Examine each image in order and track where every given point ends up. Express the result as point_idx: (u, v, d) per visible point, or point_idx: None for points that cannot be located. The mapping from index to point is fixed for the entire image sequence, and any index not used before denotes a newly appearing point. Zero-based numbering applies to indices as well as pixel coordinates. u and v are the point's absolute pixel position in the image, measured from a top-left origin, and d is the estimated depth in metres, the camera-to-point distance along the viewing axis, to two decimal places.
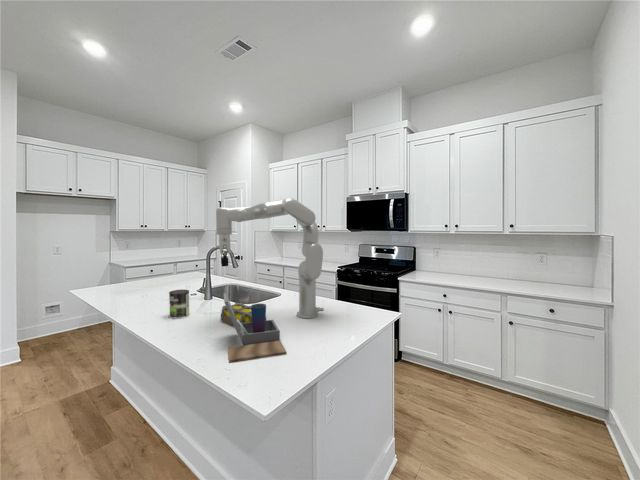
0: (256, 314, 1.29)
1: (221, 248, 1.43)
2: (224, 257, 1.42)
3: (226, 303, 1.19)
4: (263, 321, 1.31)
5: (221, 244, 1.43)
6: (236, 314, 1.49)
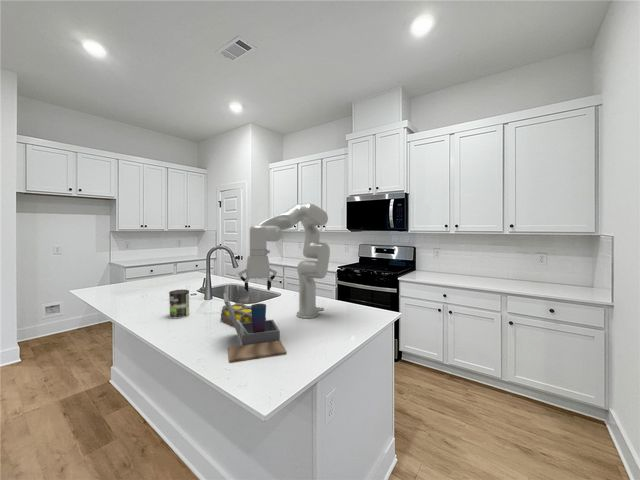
0: (256, 314, 1.29)
1: (269, 271, 1.31)
2: None
3: (226, 303, 1.19)
4: (263, 321, 1.31)
5: None
6: (236, 314, 1.49)
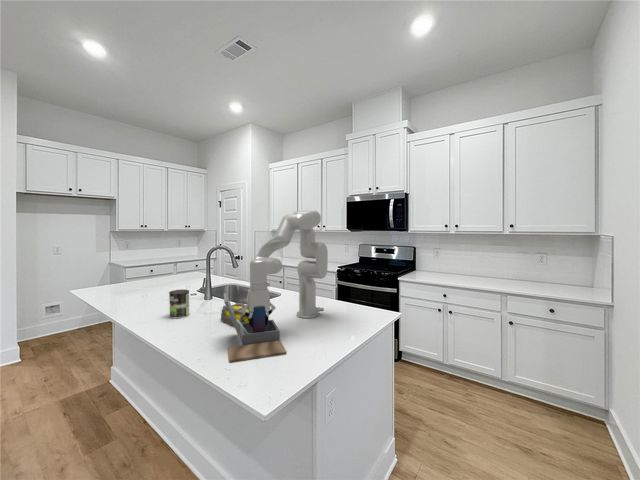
0: (256, 314, 1.29)
1: (269, 306, 1.32)
2: None
3: (226, 303, 1.19)
4: (263, 321, 1.31)
5: (269, 299, 1.32)
6: (236, 314, 1.49)
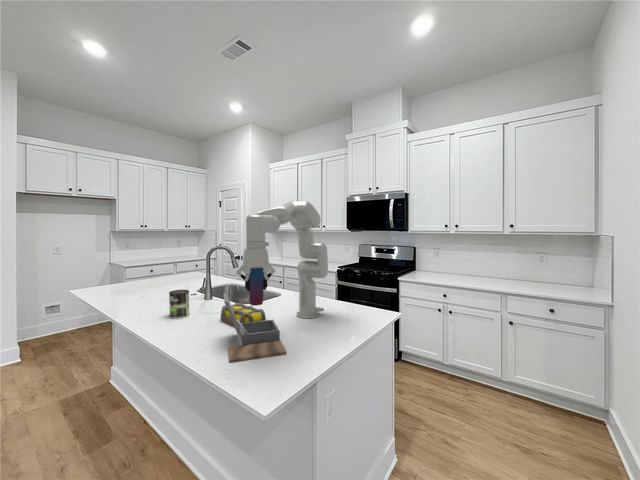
0: (253, 276, 1.13)
1: (268, 268, 1.16)
2: None
3: (226, 303, 1.19)
4: (261, 285, 1.15)
5: (268, 261, 1.16)
6: (236, 314, 1.49)
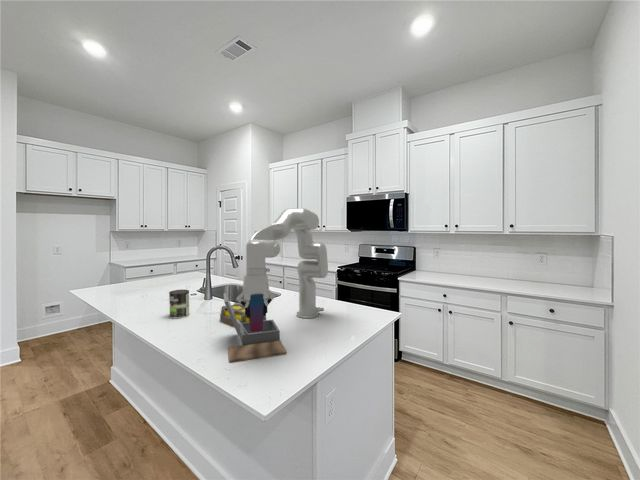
0: (253, 303, 1.13)
1: (268, 294, 1.16)
2: None
3: (226, 303, 1.19)
4: (261, 311, 1.15)
5: (268, 287, 1.16)
6: (236, 314, 1.49)
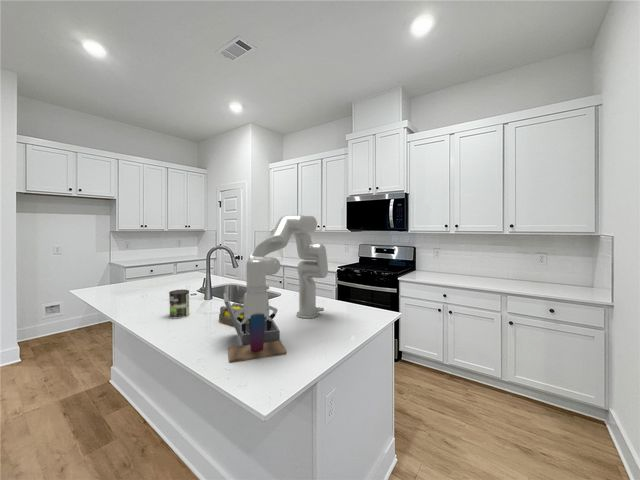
0: (254, 323, 1.14)
1: (268, 309, 1.17)
2: None
3: (226, 303, 1.19)
4: (262, 331, 1.15)
5: (268, 304, 1.17)
6: None
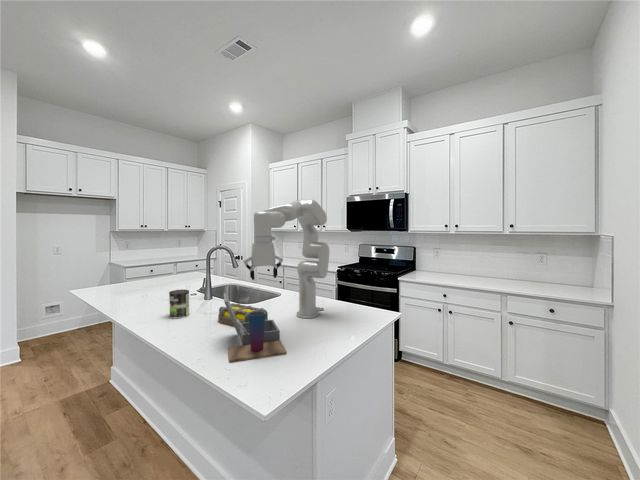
0: (254, 323, 1.14)
1: None
2: None
3: (226, 303, 1.19)
4: (262, 331, 1.16)
5: (274, 253, 1.27)
6: (237, 314, 1.49)
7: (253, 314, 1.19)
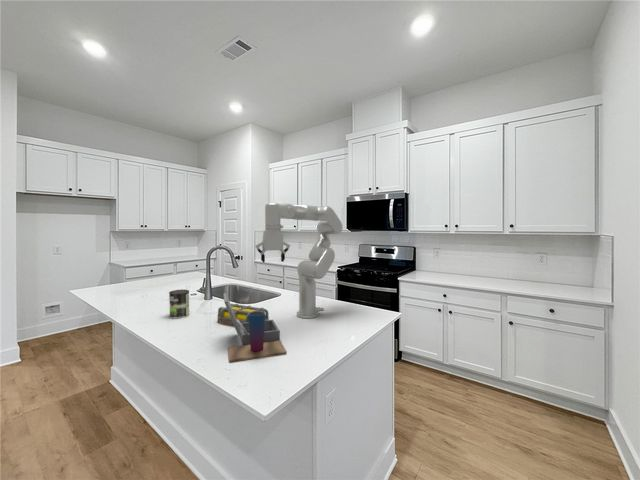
0: (254, 323, 1.14)
1: (283, 244, 1.45)
2: None
3: (226, 303, 1.19)
4: (262, 331, 1.16)
5: (282, 240, 1.45)
6: (237, 314, 1.49)
7: (253, 314, 1.19)
